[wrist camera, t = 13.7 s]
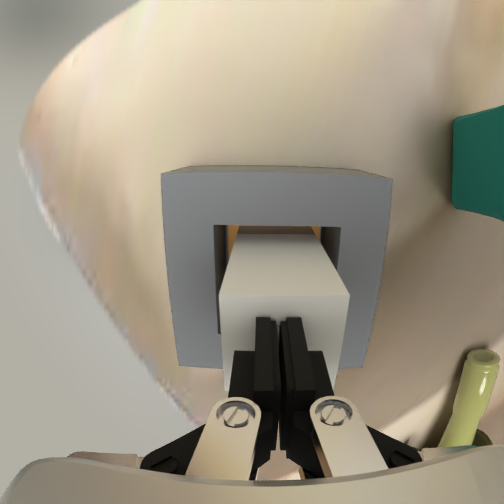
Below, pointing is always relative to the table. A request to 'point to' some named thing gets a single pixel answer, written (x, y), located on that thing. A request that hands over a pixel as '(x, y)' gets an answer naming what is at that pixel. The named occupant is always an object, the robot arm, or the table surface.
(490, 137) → the digital multimeter
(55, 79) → the table surface
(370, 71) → the table surface
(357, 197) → the socket
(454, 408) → the cannon
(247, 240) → the plug
